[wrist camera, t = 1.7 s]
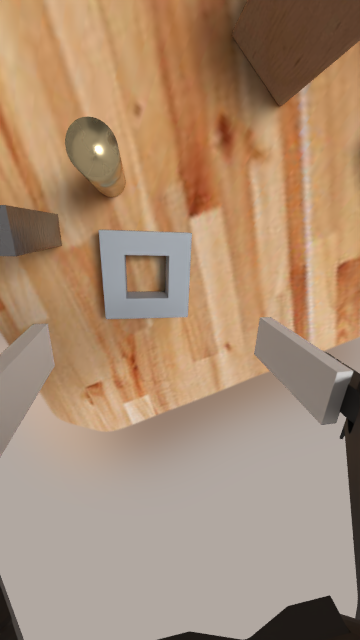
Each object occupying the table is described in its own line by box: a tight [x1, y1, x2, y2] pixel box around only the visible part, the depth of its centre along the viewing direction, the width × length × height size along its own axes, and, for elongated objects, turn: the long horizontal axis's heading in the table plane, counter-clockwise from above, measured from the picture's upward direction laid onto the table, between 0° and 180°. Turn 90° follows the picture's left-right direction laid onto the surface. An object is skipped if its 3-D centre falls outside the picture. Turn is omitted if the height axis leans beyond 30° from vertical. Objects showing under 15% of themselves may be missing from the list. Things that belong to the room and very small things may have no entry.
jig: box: [99, 230, 192, 319], centre depth 35 cm, size 12×12×4 cm
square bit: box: [0, 205, 62, 256], centre depth 26 cm, size 4×4×14 cm
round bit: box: [65, 117, 125, 197], centre depth 25 cm, size 4×4×14 cm
